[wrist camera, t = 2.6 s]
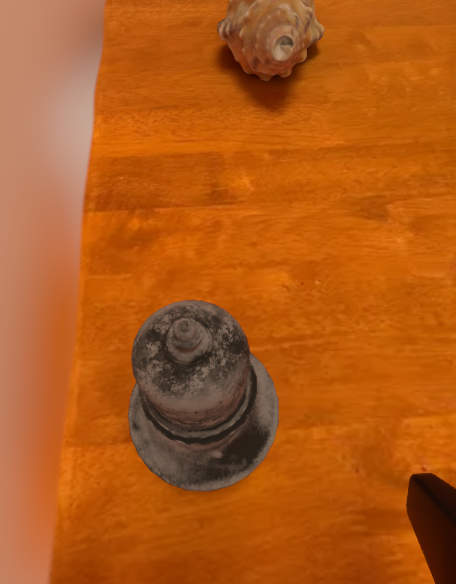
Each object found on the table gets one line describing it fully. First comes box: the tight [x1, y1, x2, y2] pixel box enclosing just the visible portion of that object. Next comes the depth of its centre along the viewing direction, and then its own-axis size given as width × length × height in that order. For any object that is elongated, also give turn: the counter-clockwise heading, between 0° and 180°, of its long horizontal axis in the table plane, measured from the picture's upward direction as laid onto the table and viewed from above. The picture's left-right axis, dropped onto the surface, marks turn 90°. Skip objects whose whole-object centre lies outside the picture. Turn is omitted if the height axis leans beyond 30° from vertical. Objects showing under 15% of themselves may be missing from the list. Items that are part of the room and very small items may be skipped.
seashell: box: [217, 0, 324, 81], centre depth 28 cm, size 9×8×10 cm
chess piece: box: [128, 300, 279, 491], centre depth 13 cm, size 6×6×12 cm
